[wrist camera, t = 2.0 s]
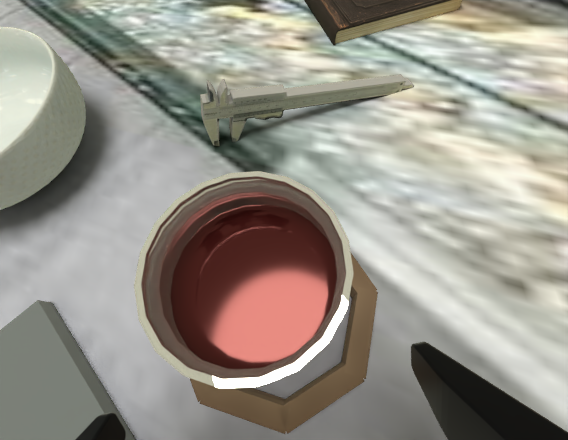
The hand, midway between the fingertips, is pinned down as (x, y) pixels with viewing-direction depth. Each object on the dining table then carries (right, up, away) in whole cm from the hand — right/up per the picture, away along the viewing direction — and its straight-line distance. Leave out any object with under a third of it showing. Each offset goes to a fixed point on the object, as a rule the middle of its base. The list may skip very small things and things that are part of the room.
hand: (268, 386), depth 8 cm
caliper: (+4, +15, +19) cm, 24 cm away
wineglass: (0, -1, +11) cm, 11 cm away
